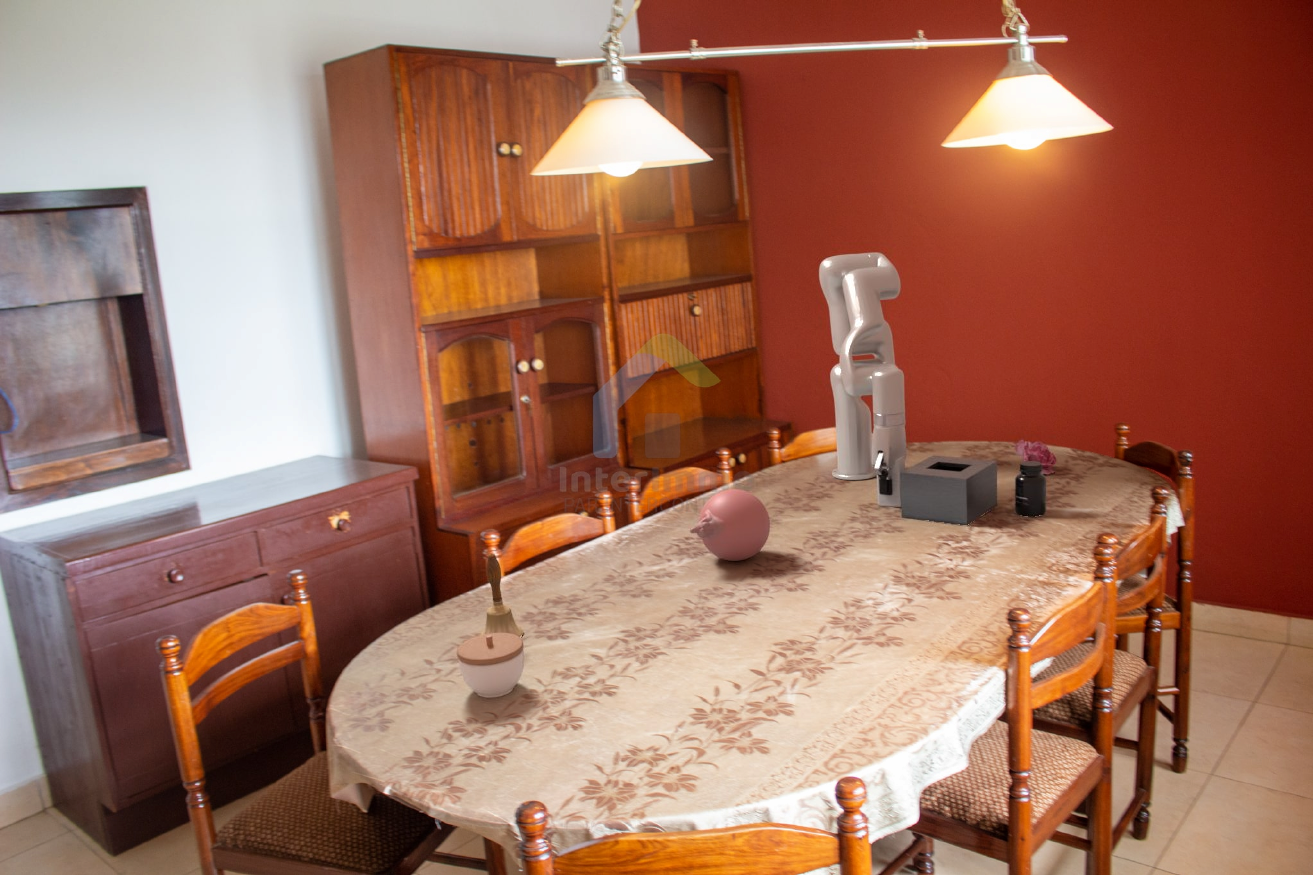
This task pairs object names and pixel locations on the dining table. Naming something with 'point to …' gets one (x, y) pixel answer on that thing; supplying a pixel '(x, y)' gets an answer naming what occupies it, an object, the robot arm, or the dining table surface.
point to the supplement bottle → (1030, 490)
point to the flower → (1036, 454)
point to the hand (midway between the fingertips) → (891, 490)
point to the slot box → (949, 489)
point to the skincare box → (893, 485)
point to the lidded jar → (492, 663)
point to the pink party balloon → (733, 525)
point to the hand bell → (498, 604)
